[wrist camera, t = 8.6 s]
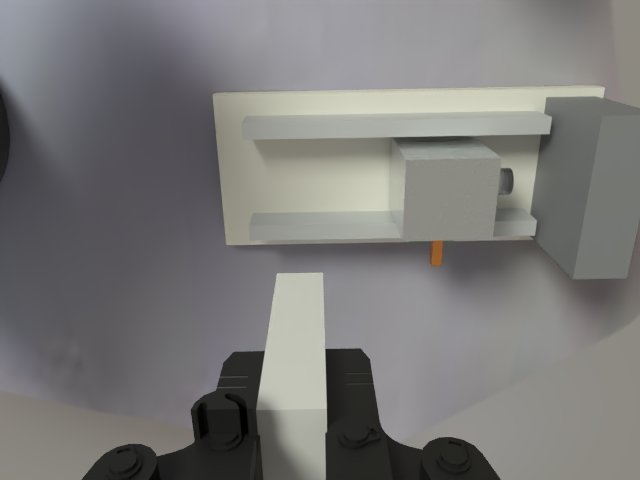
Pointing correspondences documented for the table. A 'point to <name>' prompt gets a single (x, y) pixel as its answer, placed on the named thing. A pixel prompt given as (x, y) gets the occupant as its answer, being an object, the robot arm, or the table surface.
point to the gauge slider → (445, 189)
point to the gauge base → (433, 120)
